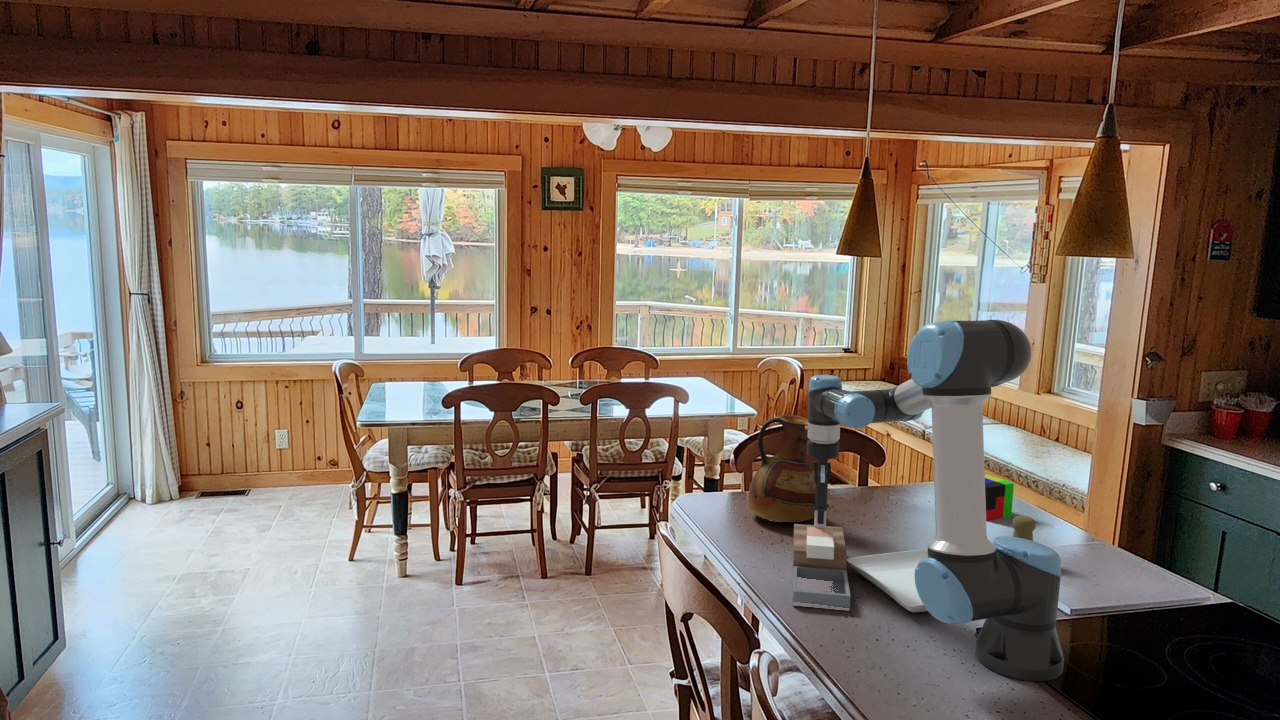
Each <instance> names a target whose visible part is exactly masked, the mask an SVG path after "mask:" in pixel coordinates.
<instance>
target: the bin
mask: <svg viewBox="0 0 1280 720" xmlns="http://www.w3.org/2000/svg"><path fill="white" fill-rule="evenodd" d="M797 577H801V578H807V579H816V580H824V581H833V583H832V584H833V585H834V586H833V585H832V586H833V587H832V586H831V588H833V591H834V592H835V593H827V592H815V591H803V590H797ZM829 587H830V586H829ZM835 588H836V589H835ZM834 589H835V590H836V591H835V590H834ZM831 590H832V589H831ZM837 590H838V591H837ZM850 590H851V589H850V585H849V579H848V572H847V569H846V570H839V569H826V568H813V567H800V566H793V565H792V603H793V602H800V603H811V604H819V605H827V606H834V607H843V608H850V609H851V592H850ZM831 592H832V591H831Z"/></svg>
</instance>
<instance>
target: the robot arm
mask: <svg viewBox="0 0 1280 720" xmlns="http://www.w3.org/2000/svg"><path fill="white" fill-rule="evenodd" d="M906 356H907V357H906V360H907V361H906V362H907V371H908V373H909V375H911V378H910V379H909V380H906V381H904V382H902V383H901V384H899V385H896V386H894V387H892V388H887V389H886V388H885V389H884V388H883V389H871V390H870V389H869V390H856V391H855V390H851V391H849V390H846V389H843V384H842V379H841V377H839V376H836V375H830V374H817V375H813V376H811V377H810V378H809V383H808V384H809V385H808V391H807V394H808V396H807V399H808V402H807V419H808V426H805V429H806V430H808V434H807V438H808V439H807V442H806V455H807V457H810V458H812V459H817V460H816V461H813V471H814V479H815V483H816V495H815V502H816V503H815V507H813V510H815V517H814V518H813V519H814V521H813V523H814V524H813V525H814V527H815V528H826V526H827V511H828V508H830V505H829V503H827V502H828V491H829V489H828V485H829V484H830V475H831V473H832V472H831V471H832V466H831V462H829V461H828V460H835V459H837V458H838V457H839V456H840V442H839V440H840V439H841V438H840V435H841V425H842V426H845V427H848V428H852V429H856V430H858V429H864V428H865V427H867V426H869V425H870V424H880V423H891V422H892V423H893V422H909V421H915V420H918V419H920V418H921V417H922V415H923V414H924V412H925V411H928V410H930V409H931V422H932V423H931V427H932V429H931V430H932V433H931V434H932V450H933V451H932V456H933V457H932V458H933V461H932V462H933V483H934V484H933V489H934V512H935V513H934V515H935V516H934V517H935V535H934V537H933V538H932V539H931V540H929V541H928V542H927V550H928V558H924V559H923V560H921V561H920V562H919V563H918V566H916V568H915V585H916V589H917V592H918V595H919V597H920V599H921V601H922V603H923V604H924V606H925V607H926V609H927V610H928V611H927V612H928V613H929V614H930V615H931V616H932V617H933V618H935V619H937V620H938V621H940V622H941V623H945V624H959V623H961V624H969V623H971V622H973V621H981V620H984V622H983V624H982V627H981V629H980V631H979V633H978V635H977V637H976V639H975V646H974V647H975V649H974V653H975V656H976V659H978V661H979V662H980V663H981V664H983V666H984V667H987V668H988V669H989V670H991V671H993V672H995V673H998V674H999V675H1002V676H1005V677H1008V678H1013V679H1016V680H1021V681H1028V682H1029V681H1030V682H1045V681H1052V680H1055V679H1058V678H1059V677H1060V676H1062V675H1063V672H1064V664H1065V657H1064V653H1063V650H1062V647H1061V642H1060V638H1059V635H1058V631H1057V618H1058V609H1059V600H1060V599H1059V598H1060V585H1061V577H1062V572H1061V564H1062V563H1061V561H1062V560H1061V556H1060V555H1059V553H1058V552H1057V551H1056V550H1054V549H1053V548H1051V547H1050V546H1048V545H1045V544H1043V543H1040V542H1037V541H1034V540H1033V541H1031V540H1027V539H1023V538H1018V537H1013V536H1009V535H1008V536H1007V535H1006V536H1005V535H1002V536H1001V535H1000V536H997V537H994V539H993V541H991V540H990V539H989V538H988V537H987V535H988V534H987V521H986V501H985V473H986V472H985V447H984V445H985V444H984V442H985V441H984V416H983V415H984V414H983V405H984V403H986V401H987V400H988V399H989V398H991V396H992V388H995V387H998V386H1001V385H1003V384H1006V383H1008V382H1011V381H1013V380H1015V379H1017V378H1019V377H1020V376H1021V375H1023V374H1024V372H1026V370H1027V369H1028V367H1029V365H1030V362H1031V360H1032V359H1031V358H1032V346H1031V343H1030V340H1029V338H1028V337H1027V335H1026V333H1025V332H1024V331H1023V330H1022V329H1021V328H1020V327H1019V326H1017V325H1015V324H1013V323H1011V322H1009V321H1006V320H1000V319H987V320H984V319H982V320H979V319H978V320H945V321H936V322H931V323H927V324H924V326H922V327H920V328H919V330H917V331H916V334H915V335H914V336H913V337H912V339H911V341H910V344H909V347H908V351H907V355H906Z"/></svg>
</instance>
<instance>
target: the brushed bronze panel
mask: <svg viewBox="0 0 1280 720" xmlns="http://www.w3.org/2000/svg"><path fill="white" fill-rule="evenodd" d="M807 527H814V524H802V523H800V524H799V523H794V524H793V542H792V543H793V544H792V548H793V549H792V563H793V564H792V567H793V566H800V567H813V568H826V569H839V570H846V571H847V561H846V560H847V558H848V557H847V556H848V553H847V547H846V542H845V541H846V540H845V535H844V530H843V526H830V525H829V526H827V525H826V528H829V529H832V530H833V542H834V560H832V559H819V558H807V554H806V543H807Z"/></svg>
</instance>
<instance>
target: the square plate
mask: <svg viewBox="0 0 1280 720" xmlns="http://www.w3.org/2000/svg"><path fill="white" fill-rule="evenodd" d="M924 558H928V549H915V550H914V549H913V550H906V551H904V550H903V551H896V552H894V551H893V552H885V553H878V554H870V555H861V556H853V557H847V560H846V563H848V564H849V566H851V568H852V569H853V570H855V571H856V572H857V573H858V574H860V575H861V576H862V577H864V578H865V579H866V580H868V581H870V583H872V584H873V585H875V586H876V587H878V588H879V589H880V590H882V591H883V592H884V593H886V594H887V595H888V596H890V597H891V598H892V599H893V600H894V601H896V603H897V604H899V605H900V606H901V607H902V608H904V609H905V610H907V611H908V612H911V613H921V612H929V611H928V610H927V609H926V607H925V606H924V604H923V603H922V601H921V599H920V597H919V595H918V592H917V589H916V585H915V568H916V566H918V563H919V562H920V561H921V560H923V559H924Z"/></svg>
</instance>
